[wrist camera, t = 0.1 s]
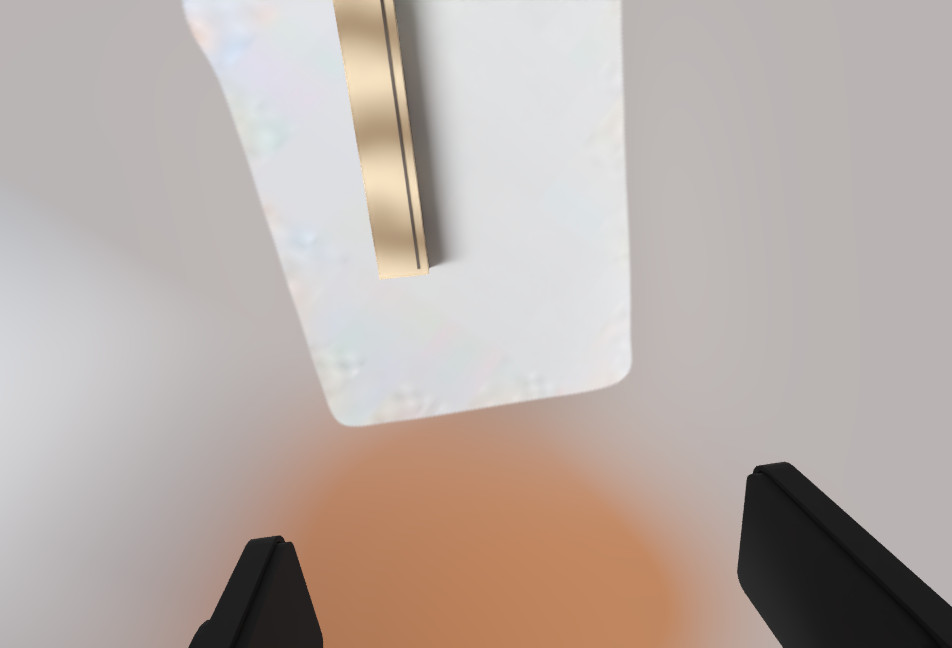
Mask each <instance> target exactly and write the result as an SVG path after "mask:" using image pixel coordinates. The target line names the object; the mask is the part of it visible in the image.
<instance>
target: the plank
mask: <svg viewBox="0 0 952 648" xmlns="http://www.w3.org/2000/svg"><path fill="white" fill-rule="evenodd" d="M333 4H334V10H335V16H336V22H337V28H338V34H339V39H340V45H341V51H342V57H343V63H344V69H345V75H346V81H347V87H348V93H349V99H350V105H351V111H352V117H353V123H354V129H355V134H356V140H357V146H358V152H359V158H360V164H361V170H362V176H363V182H364V188H365V194H366V200H367V206H368V212H369V218H370V224H371V229H372V235H373V241H374V247H375V253H376V259H377V265H378V271H379V277H380V279H389V278H398V277H408V276H417V275H426V274H429V264H428V256H427V249H426V241H425V233H424V226H423V218H422V210H421V203H420V195H419V187H418V179H417V172H416V164H415V156H414V149H413V141H412V133H411V126H410V118H409V110H408V103H407V95H406V87H405V80H404V72H403V64H402V57H401V49H400V41H399V34H398V26H397V18H396V11H395V3H394V0H333Z"/></svg>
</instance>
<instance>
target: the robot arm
mask: <svg viewBox="0 0 952 648" xmlns="http://www.w3.org/2000/svg"><path fill="white" fill-rule="evenodd" d="M737 574H738V579H739V582H740V584H741V587H742V588H743V590H744V592H745V594H746V595H747V596H748V598H749V599H750V601H751V602H752V604H753V605H754V606H755V608H756V609H757V611H758V612H759V614H760V615H761V617H762V618H763V619H764V621H765V622H766V624H767V625H768V627H769V628H770V630H771V631H772V632H773V634H774V635H775V637H776V638H777V639H778V641H779V642H780V644H781V645H782V647H783V648H952V607H951V606H950V605H949V604H948V603H947V602H946V601H945V600H944V599H942V598H941V597H940V596H939V595H938V594H937V593H936V592H934V591H933V590H932V589H931V588H930V587H929V586H928V585H927V584H926V583H924V582H923V581H922V580H921V579H920V578H919V577H918V576H917V575H915V574H914V573H913V572H912V571H911V570H910V569H909V568H907V567H906V566H905V565H904V564H903V563H902V562H901V561H900V560H898V559H897V558H896V557H895V556H894V555H893V554H892V553H891V552H890V551H888V550H887V549H886V548H885V547H884V546H883V545H882V544H881V543H879V542H878V541H877V540H876V539H875V538H874V537H873V536H871V535H870V534H869V533H868V532H867V531H866V530H865V529H864V528H862V527H861V526H860V525H859V524H858V523H857V522H856V521H855V520H853V519H852V518H851V517H850V516H849V515H848V514H847V513H846V512H844V511H843V510H842V509H841V508H840V507H839V506H838V505H836V503H834V502H833V501H832V500H831V499H830V498H829V497H828V496H826V495H825V494H824V493H823V492H822V491H821V490H820V489H818V487H816V486H815V485H814V484H813V483H812V482H811V481H810V480H809V479H807V478H806V477H805V476H804V475H803V474H802V473H801V472H800V471H798V470H797V469H796V468H795V467H794V466H793V465H791V464H790V463H787V462H781V463H774V464H767V465H759V466H756V467H755V469H754V471H753V474H750V475H749V476H748V477H747V483H746V492H745V502H744V511H743V521H742V531H741V541H740V550H739V560H738V570H737ZM189 648H323V637H322V633H321V629H320V626H319V623H318V620H317V617H316V614H315V611H314V608H313V604H312V601H311V598H310V595H309V592H308V589H307V586H306V582H305V579H304V576H303V573H302V570H301V567H300V564H299V560H298V557H297V554H296V551H295V548H294V545H293V544H292V542H285V541H284V538H283V537H281V536H272V537H265V538H258V539H251V540H250V541H249V542H248V543H247V545H246V546H245V549H244V550H243V553H242V555H241V557H240V559H239V561H238V563H237V565H236V567H235V569H234V571H233V573H232V575H231V577H230V579H229V582H228V584H227V586H226V588H225V591H224V592H223V594H222V596H221V598H220V600H219V602H218V604H217V606H216V608H215V611H214V613H213V615H212V617H211V619H210V620H207V621H205V622H204V623H203V624H202V625H201V626H200V627H199V629H198V631H197V632H196V634H195V635H194V637H193V639H192V642H191V644H190V645H189Z"/></svg>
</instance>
